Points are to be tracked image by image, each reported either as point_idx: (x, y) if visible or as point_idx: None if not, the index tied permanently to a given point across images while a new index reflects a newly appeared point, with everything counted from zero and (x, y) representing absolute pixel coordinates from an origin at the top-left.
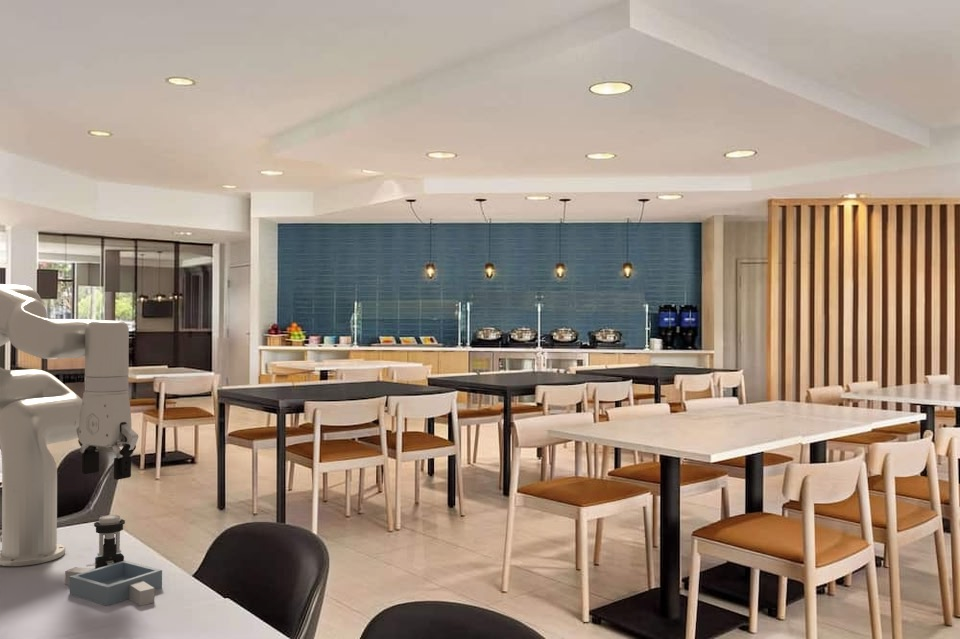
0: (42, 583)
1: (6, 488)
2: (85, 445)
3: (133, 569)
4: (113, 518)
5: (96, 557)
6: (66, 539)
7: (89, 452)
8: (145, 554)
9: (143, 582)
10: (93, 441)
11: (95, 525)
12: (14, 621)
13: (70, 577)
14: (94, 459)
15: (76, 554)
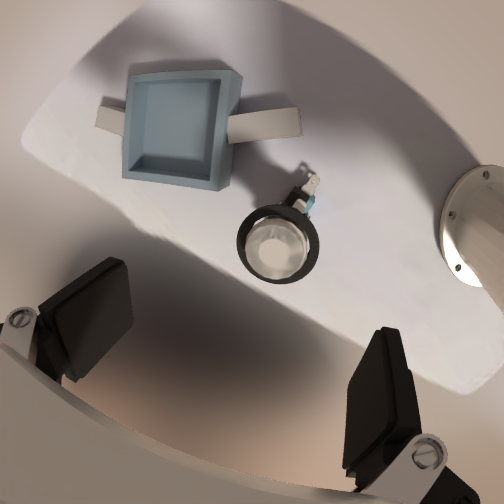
0: (348, 100)
1: None
2: (388, 490)
3: (184, 175)
4: (249, 243)
5: (308, 200)
6: (483, 325)
7: (376, 451)
8: (300, 304)
9: (119, 132)
10: (83, 459)
11: (291, 208)
12: None
13: (230, 70)
14: (357, 423)
15: (425, 268)
